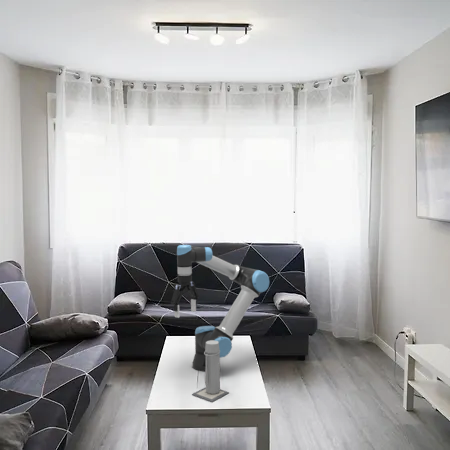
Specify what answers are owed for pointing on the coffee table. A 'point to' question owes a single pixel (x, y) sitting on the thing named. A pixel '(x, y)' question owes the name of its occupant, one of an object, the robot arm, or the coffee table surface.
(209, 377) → the water bottle
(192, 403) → the coffee table surface
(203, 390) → the coaster mat
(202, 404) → the coffee table surface
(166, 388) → the coffee table surface
